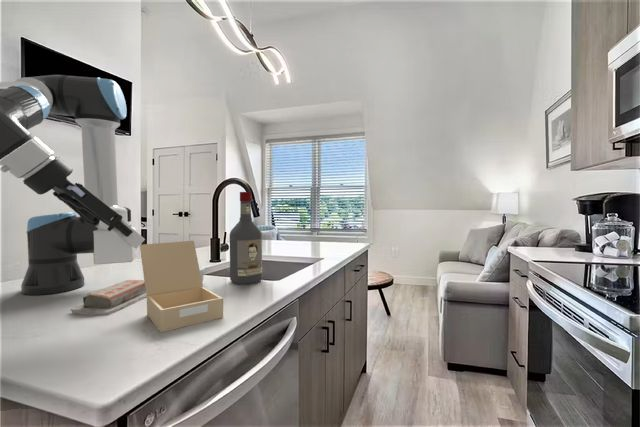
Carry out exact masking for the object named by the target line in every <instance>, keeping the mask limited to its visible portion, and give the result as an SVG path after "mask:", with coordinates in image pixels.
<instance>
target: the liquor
mask: <svg viewBox="0 0 640 427" xmlns="http://www.w3.org/2000/svg"><path fill="white" fill-rule="evenodd" d="M251 202H252V192H251V191H240V192H239V203H240V204H239V205H240V206H239V207H240V213H239V214H240V217H239V221H238V222H237V223H236V224H235V226H234V227H233V228H232V229H231V230H230V233H229V280H230V281H231V283H233V284H236V285H243V286H245V285H246V286H248V285H252V284H257V283H260V282H261V281H262V279H263V234H262V230H261V229H260V228H259V227H258V226H257V224H255V222H253V221H254V220H253V218H252V205H251V204H252V203H251Z"/></svg>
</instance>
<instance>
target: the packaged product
mask: <svg viewBox="0 0 640 427" xmlns="http://www.w3.org/2000/svg"><path fill="white" fill-rule="evenodd" d="M145 298H146V299H147V296H146V289H145V281H144V279H128V280H124V281H121V282H118V283H114V284H112V285H109V286H107V287H104V288H101V289H99V290H96V291H93V292H89V293H87V294H85V295H84V296H83V297H82V302H83V304H80V305H77V306H75V307H72V308H71V309H70V311H71V313H72V314H73V315H74V314H75V315H76V314H77V315H101V316H102V315H103V316H106V315H112V314H114V313H116V312H117V311H119V310H122V309H124V308H126V307H129V306H130V305H133V304H135V303H137V302H140V301H142V300H144V299H145Z"/></svg>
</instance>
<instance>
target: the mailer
mask: <svg viewBox="0 0 640 427" xmlns="http://www.w3.org/2000/svg"><path fill="white" fill-rule="evenodd" d="M139 250H140V258H141V265H142V272H143V281H145V289H146V296H147V297H146V315H147V317H148V318H149V319H150V320H151V321H152V322H153V324H154V325H155V327H156V328H157V329H158V331H160V332H161V333H163V332H168V331H171V330H176V329H180V328H184V327H188V326H191V325H192V326H193V325H196V324H200V323H205V322H208V321H209V322H210V321H214V320H217V319H218V320H219V319H222V318H223V319H224V298H223V296H220V295H218V294H216V293H215V292H213V291H211V290H210V289H208V288H206V287H204V286H203V282H202V279H201V274H200V269H199V266H200V265H199V261H198V260H199V259H198V255H197V250H196V245H195V241H194V240H184V241H172V242H160V243H145V244H143V243H142V244H140V245H139Z"/></svg>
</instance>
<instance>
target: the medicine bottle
mask: <svg viewBox="0 0 640 427" xmlns="http://www.w3.org/2000/svg"><path fill="white" fill-rule="evenodd" d="M110 208H111V209H112V210H114V211H115V212H116V213H118V214H119V215H121V216H122V220H123V221H124V222H125V223H126V224H128V225H129V226H130V225H131V228H132V229H134V230H135V231H136V232H137V228H136V227H134V226H132V210H131V208H129V207H125V206H119V207H110ZM113 218H114V217H113ZM113 218H112V219H113ZM112 219H111V220H112ZM111 220H110V221H111ZM99 226H101V229H98V230H95V231H93V252H94V253H93V264H94V265H109V264H125V263H132V262H133V261H134V260H135V259H136V258H137V249H135V248H134V247H132V246H131V245H130V244H129V243H127V242H126V241H125V240H123V239H122V238H121V237H120V236H118V235H117V234H116V233H115V232H113V231H112V230H111V231H108V230H107V228H108V227H109V226H108V225H106V224H105V223H103V222H102V221H101V220H99Z"/></svg>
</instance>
